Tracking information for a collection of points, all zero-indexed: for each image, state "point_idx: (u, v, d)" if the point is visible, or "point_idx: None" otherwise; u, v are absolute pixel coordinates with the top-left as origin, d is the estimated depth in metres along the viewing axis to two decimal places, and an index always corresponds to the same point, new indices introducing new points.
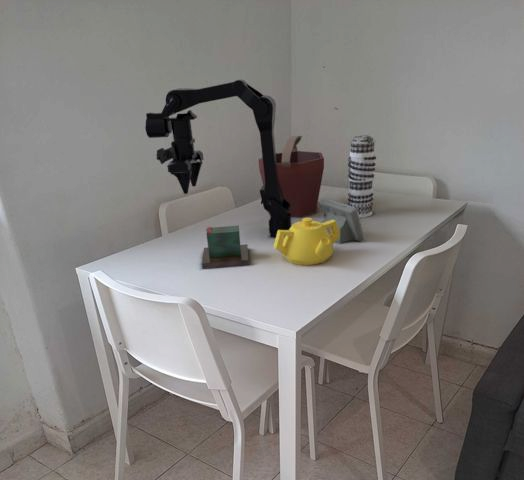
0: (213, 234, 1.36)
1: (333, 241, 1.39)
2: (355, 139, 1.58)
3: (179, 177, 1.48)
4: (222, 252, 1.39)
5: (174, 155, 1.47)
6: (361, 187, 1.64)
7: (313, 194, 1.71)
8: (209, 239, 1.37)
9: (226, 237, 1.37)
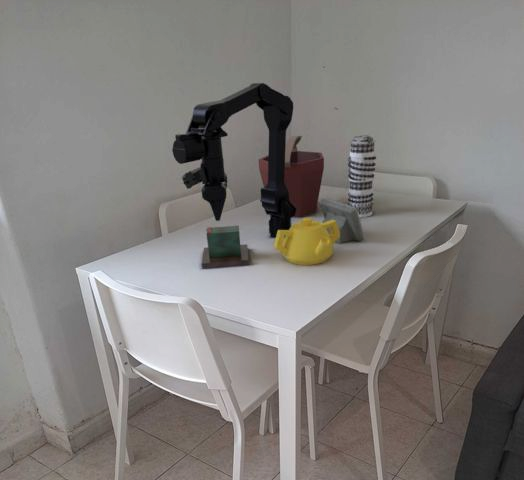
0: (213, 234, 1.36)
1: (333, 241, 1.39)
2: (355, 139, 1.58)
3: (212, 203, 1.30)
4: (222, 252, 1.39)
5: (204, 178, 1.30)
6: (361, 187, 1.64)
7: (313, 194, 1.71)
8: (209, 239, 1.37)
9: (226, 237, 1.37)
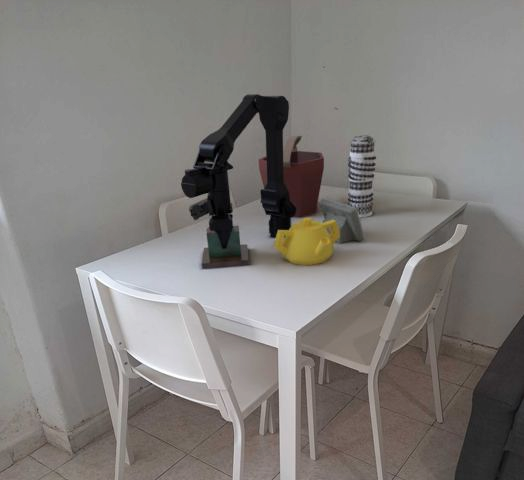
0: (213, 234, 1.36)
1: (333, 241, 1.39)
2: (355, 139, 1.58)
3: (219, 232, 1.34)
4: (222, 252, 1.39)
5: (211, 210, 1.33)
6: (361, 187, 1.64)
7: (313, 194, 1.71)
8: (209, 239, 1.37)
9: None
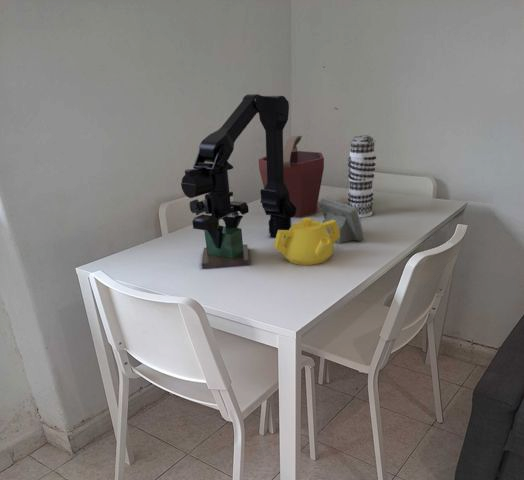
0: None
1: (333, 241, 1.39)
2: (355, 139, 1.58)
3: (210, 231, 1.35)
4: (216, 251, 1.40)
5: (206, 208, 1.34)
6: (361, 187, 1.64)
7: (313, 194, 1.71)
8: (206, 236, 1.39)
9: None
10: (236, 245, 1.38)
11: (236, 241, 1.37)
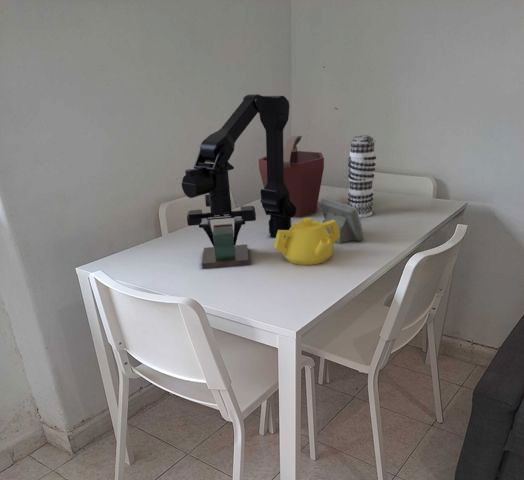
0: (213, 228, 1.41)
1: (333, 241, 1.39)
2: (355, 139, 1.58)
3: None
4: None
5: None
6: (361, 187, 1.64)
7: (313, 194, 1.71)
8: None
9: None
10: (222, 248, 1.37)
11: (222, 244, 1.36)
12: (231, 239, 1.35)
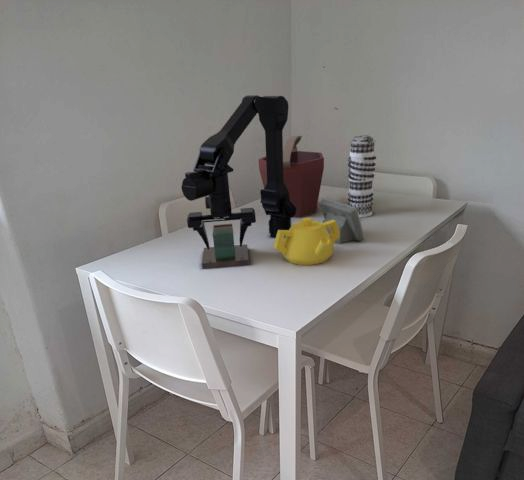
0: (213, 228, 1.41)
1: (333, 241, 1.39)
2: (355, 139, 1.58)
3: None
4: None
5: None
6: (361, 187, 1.64)
7: (313, 194, 1.71)
8: None
9: None
10: (222, 248, 1.37)
11: (222, 244, 1.36)
12: (231, 239, 1.35)
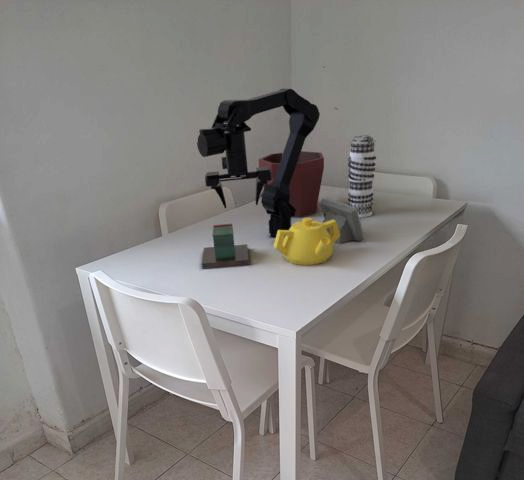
0: (213, 228, 1.41)
1: (333, 241, 1.39)
2: (355, 139, 1.58)
3: None
4: None
5: None
6: (361, 187, 1.64)
7: (313, 194, 1.71)
8: None
9: None
10: (222, 248, 1.37)
11: (222, 244, 1.36)
12: (231, 239, 1.35)
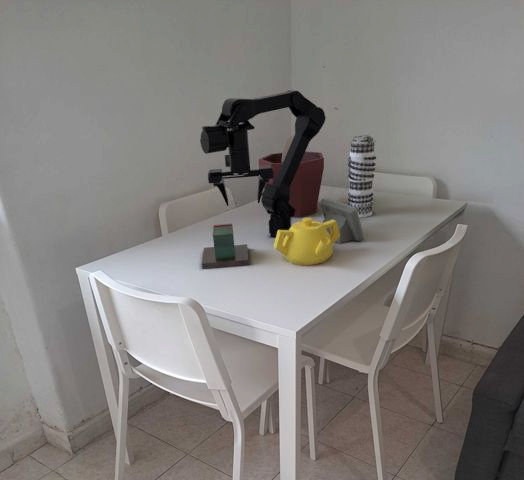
0: (213, 228, 1.41)
1: (333, 241, 1.39)
2: (355, 139, 1.58)
3: None
4: None
5: None
6: (361, 187, 1.64)
7: (313, 194, 1.71)
8: None
9: None
10: (222, 248, 1.37)
11: (222, 244, 1.36)
12: (231, 239, 1.35)
